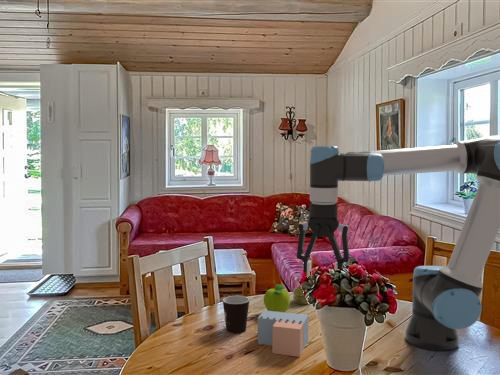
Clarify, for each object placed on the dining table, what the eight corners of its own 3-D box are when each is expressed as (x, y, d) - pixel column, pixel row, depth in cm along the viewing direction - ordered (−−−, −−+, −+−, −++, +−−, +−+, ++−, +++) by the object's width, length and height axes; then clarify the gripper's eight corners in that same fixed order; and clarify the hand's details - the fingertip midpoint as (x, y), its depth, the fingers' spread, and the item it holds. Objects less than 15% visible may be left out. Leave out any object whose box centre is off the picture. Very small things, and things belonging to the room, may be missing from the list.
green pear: (288, 301, 186) (288, 276, 185) (301, 297, 191) (301, 272, 191) (303, 306, 181) (303, 279, 180) (316, 301, 186) (316, 276, 185)
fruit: (291, 310, 176) (291, 283, 175) (287, 319, 167) (287, 291, 166) (266, 308, 178) (266, 281, 177) (261, 317, 169) (261, 289, 168)
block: (303, 349, 142) (303, 322, 142) (299, 356, 138) (300, 328, 137) (276, 346, 145) (276, 319, 144) (272, 353, 140) (272, 325, 139)
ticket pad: (308, 340, 149) (308, 314, 149) (303, 349, 143) (303, 322, 142) (264, 335, 153) (264, 309, 153) (257, 343, 147) (257, 317, 146)
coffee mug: (246, 335, 153) (246, 304, 152) (219, 333, 155) (219, 303, 154) (253, 322, 164) (253, 293, 163) (228, 320, 166) (228, 292, 165)
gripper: (361, 202, 133) (360, 284, 135) (291, 200, 139) (290, 278, 141) (359, 205, 126) (357, 292, 128) (285, 202, 132) (284, 285, 134)
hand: (322, 285), depth 135 cm, fingers open, 7 cm apart
